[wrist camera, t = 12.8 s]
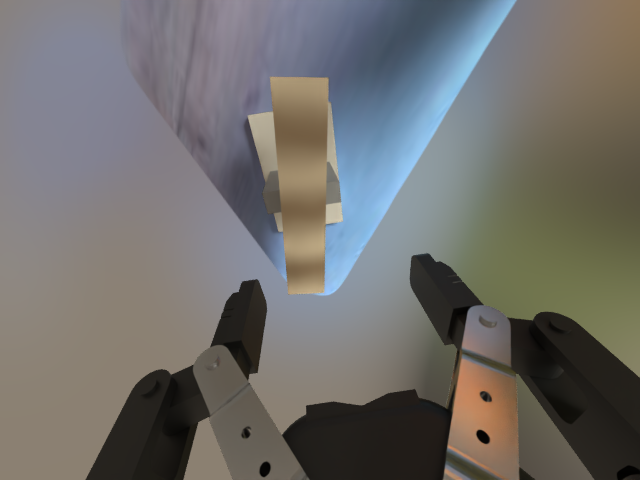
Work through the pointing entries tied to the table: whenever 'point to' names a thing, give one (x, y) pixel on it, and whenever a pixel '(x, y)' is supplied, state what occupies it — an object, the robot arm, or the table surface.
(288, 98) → the rectangular block
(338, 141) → the table surface
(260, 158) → the stand
